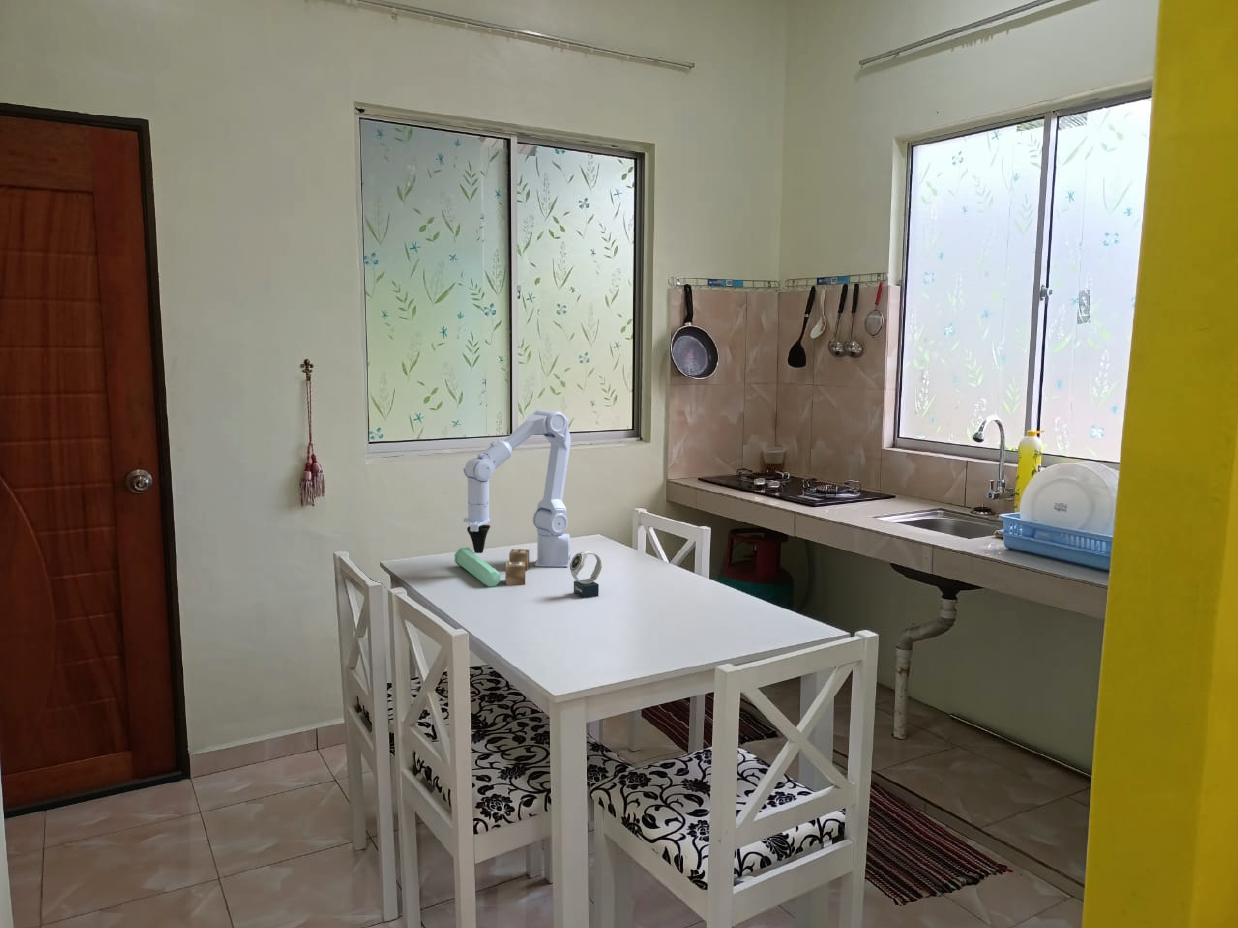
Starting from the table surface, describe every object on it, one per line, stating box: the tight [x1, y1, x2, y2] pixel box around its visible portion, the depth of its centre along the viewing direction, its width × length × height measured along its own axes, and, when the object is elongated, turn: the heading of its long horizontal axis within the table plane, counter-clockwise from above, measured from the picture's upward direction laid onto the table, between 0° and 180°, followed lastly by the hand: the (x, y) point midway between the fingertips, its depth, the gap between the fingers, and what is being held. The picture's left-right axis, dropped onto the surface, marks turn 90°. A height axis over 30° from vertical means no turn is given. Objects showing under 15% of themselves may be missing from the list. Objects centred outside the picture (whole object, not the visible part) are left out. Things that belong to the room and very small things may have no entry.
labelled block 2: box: [504, 561, 526, 586], centre depth 240 cm, size 5×5×5 cm
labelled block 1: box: [508, 548, 530, 572], centre depth 254 cm, size 5×5×5 cm
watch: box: [569, 550, 603, 599], centre depth 229 cm, size 6×8×11 cm
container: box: [454, 547, 501, 588], centre depth 246 cm, size 6×6×25 cm
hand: (478, 552), depth 246 cm, fingers closed
